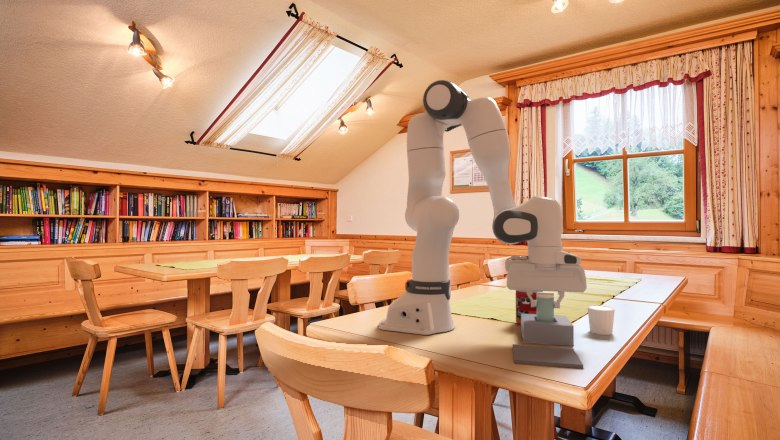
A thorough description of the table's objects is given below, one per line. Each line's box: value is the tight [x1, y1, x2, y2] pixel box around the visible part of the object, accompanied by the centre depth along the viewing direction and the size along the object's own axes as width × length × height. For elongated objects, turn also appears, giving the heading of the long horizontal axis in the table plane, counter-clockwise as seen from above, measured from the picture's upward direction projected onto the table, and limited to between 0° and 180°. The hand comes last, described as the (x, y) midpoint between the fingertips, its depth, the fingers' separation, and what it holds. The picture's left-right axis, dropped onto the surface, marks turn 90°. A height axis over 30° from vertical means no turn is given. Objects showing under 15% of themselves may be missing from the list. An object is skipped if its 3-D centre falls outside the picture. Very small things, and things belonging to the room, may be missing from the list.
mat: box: [512, 343, 584, 370], centre depth 95 cm, size 14×12×1 cm
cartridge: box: [537, 291, 555, 322], centre depth 111 cm, size 4×4×12 cm
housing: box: [520, 314, 575, 347], centre depth 111 cm, size 12×12×5 cm
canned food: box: [515, 290, 544, 326], centre depth 126 cm, size 8×8×11 cm
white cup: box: [587, 305, 616, 336], centre depth 117 cm, size 7×7×7 cm
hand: (545, 307), depth 111 cm, fingers closed on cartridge, 4 cm apart
